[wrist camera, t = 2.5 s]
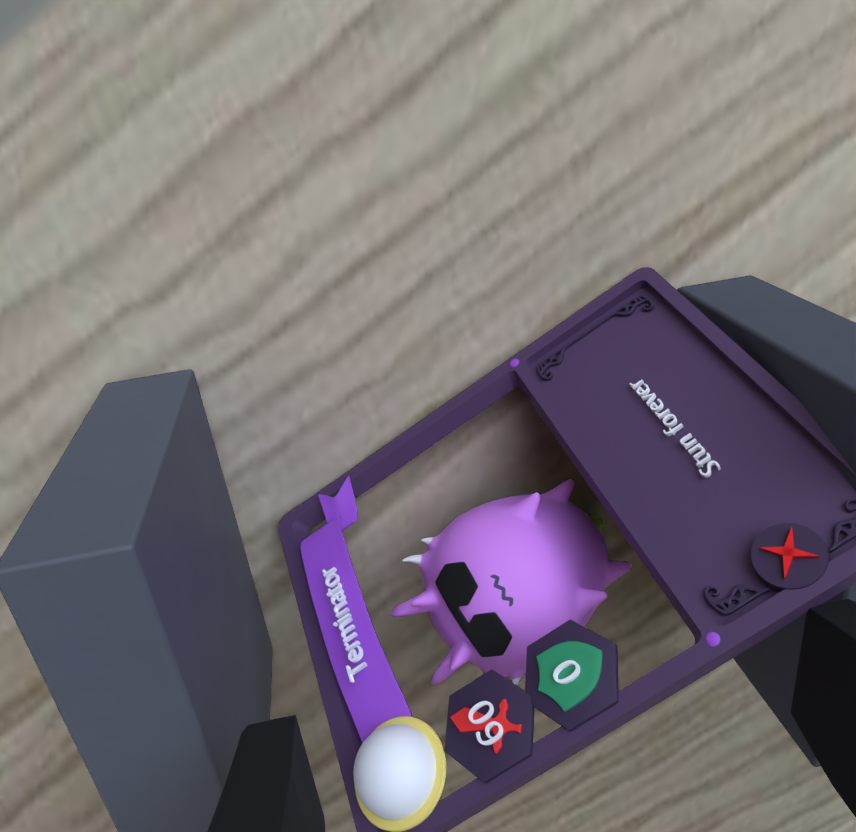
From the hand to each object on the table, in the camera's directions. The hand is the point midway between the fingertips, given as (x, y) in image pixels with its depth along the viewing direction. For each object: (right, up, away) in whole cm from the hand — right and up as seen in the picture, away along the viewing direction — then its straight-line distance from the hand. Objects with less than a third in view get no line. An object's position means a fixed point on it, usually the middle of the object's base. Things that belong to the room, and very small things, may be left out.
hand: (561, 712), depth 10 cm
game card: (0, +3, +6) cm, 7 cm away
